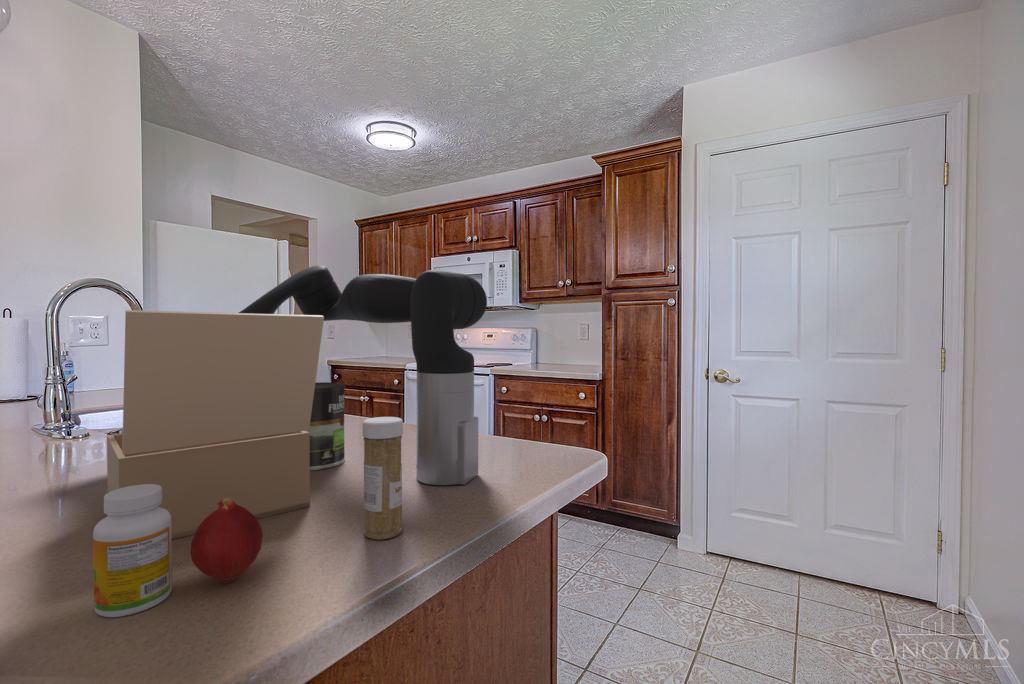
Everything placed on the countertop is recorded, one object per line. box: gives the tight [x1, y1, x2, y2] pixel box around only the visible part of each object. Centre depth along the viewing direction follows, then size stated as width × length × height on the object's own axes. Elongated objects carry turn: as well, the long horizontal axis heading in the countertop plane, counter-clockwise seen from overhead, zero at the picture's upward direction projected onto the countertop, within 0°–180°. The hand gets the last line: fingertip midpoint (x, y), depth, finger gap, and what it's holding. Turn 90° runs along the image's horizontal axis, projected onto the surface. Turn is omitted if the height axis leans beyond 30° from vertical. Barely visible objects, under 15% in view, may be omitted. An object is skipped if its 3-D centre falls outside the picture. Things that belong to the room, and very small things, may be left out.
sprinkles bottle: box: [362, 416, 404, 541], centre depth 57 cm, size 5×5×13 cm
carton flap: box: [122, 309, 325, 455], centre depth 56 cm, size 16×19×1 cm
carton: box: [106, 431, 311, 541], centre depth 64 cm, size 16×20×10 cm
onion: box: [189, 498, 264, 584], centre depth 46 cm, size 6×6×8 cm
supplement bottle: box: [92, 484, 173, 618], centre depth 42 cm, size 5×5×10 cm
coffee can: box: [305, 381, 346, 471], centre depth 87 cm, size 10×10×14 cm
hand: (207, 392), depth 64 cm, fingers closed
